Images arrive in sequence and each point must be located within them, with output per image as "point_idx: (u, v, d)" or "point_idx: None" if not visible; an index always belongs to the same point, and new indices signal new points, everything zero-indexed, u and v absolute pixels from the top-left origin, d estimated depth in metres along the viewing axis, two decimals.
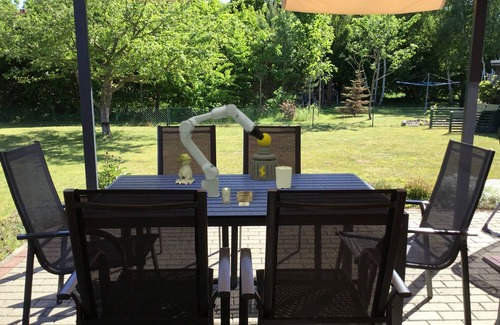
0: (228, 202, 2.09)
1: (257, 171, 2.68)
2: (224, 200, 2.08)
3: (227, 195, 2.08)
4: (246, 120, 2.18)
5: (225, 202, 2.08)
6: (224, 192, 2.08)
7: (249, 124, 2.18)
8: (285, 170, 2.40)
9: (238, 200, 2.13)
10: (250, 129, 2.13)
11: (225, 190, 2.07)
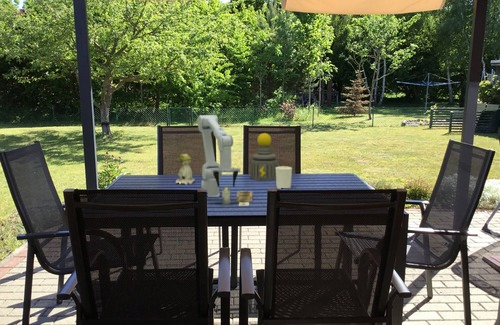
0: (228, 202, 2.09)
1: (257, 171, 2.68)
2: (224, 200, 2.08)
3: (227, 195, 2.08)
4: (220, 161, 2.06)
5: (225, 202, 2.08)
6: (224, 192, 2.08)
7: (220, 166, 2.06)
8: (285, 170, 2.40)
9: (238, 200, 2.13)
10: (211, 170, 2.08)
11: (225, 190, 2.07)
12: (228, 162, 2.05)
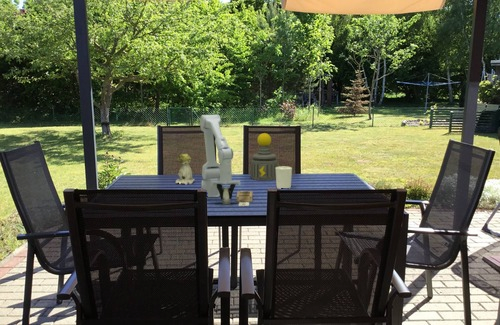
0: (228, 202, 2.09)
1: (257, 171, 2.68)
2: (224, 200, 2.08)
3: (227, 195, 2.08)
4: (220, 174, 2.07)
5: (225, 202, 2.08)
6: (224, 192, 2.08)
7: (220, 179, 2.07)
8: (285, 170, 2.40)
9: (238, 200, 2.13)
10: None
11: (225, 190, 2.07)
12: (228, 175, 2.06)
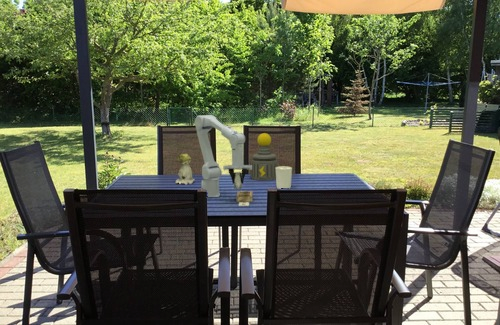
0: (240, 187, 2.11)
1: (257, 171, 2.68)
2: (236, 185, 2.11)
3: (239, 180, 2.11)
4: (232, 159, 2.10)
5: (237, 187, 2.11)
6: (236, 177, 2.11)
7: (232, 164, 2.10)
8: (285, 170, 2.40)
9: (238, 200, 2.13)
10: None
11: (237, 175, 2.10)
12: (240, 159, 2.09)
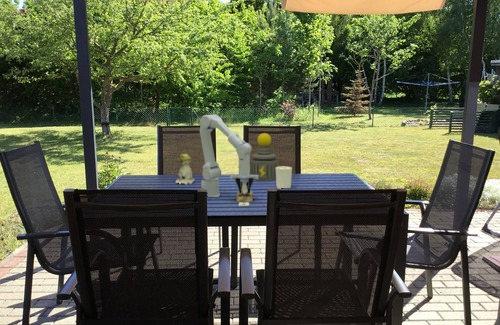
0: (246, 196, 2.15)
1: (257, 171, 2.68)
2: (242, 194, 2.14)
3: (245, 189, 2.14)
4: (239, 168, 2.13)
5: (243, 196, 2.14)
6: (242, 186, 2.14)
7: (239, 173, 2.14)
8: (285, 170, 2.40)
9: (238, 200, 2.13)
10: (230, 177, 2.15)
11: (243, 184, 2.13)
12: (247, 169, 2.12)
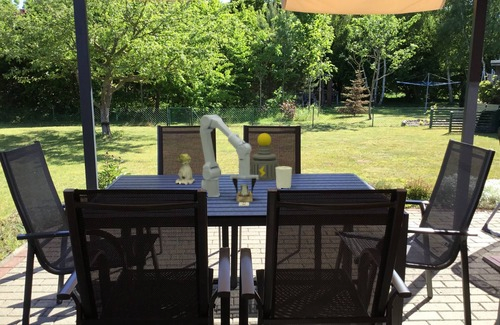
0: None
1: (257, 171, 2.68)
2: None
3: (245, 192, 2.14)
4: (239, 169, 2.13)
5: None
6: (242, 189, 2.14)
7: (239, 173, 2.14)
8: (285, 170, 2.40)
9: (238, 200, 2.13)
10: (230, 177, 2.15)
11: (243, 187, 2.14)
12: (247, 169, 2.12)
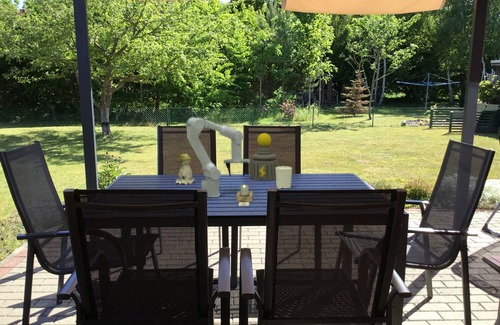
0: None
1: (257, 171, 2.68)
2: None
3: (245, 192, 2.14)
4: (232, 153, 2.30)
5: None
6: (242, 189, 2.14)
7: None
8: (285, 170, 2.40)
9: (238, 200, 2.13)
10: None
11: (243, 187, 2.14)
12: (239, 154, 2.30)
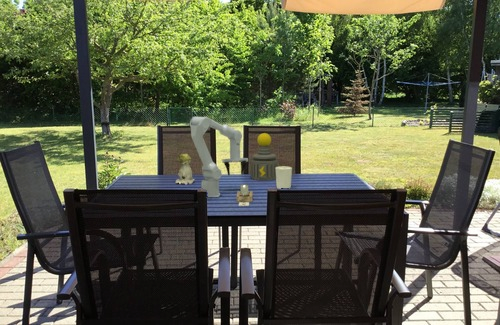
0: None
1: (257, 171, 2.68)
2: None
3: (245, 192, 2.14)
4: (231, 153, 2.34)
5: None
6: (242, 189, 2.14)
7: (230, 157, 2.34)
8: (285, 170, 2.40)
9: (238, 200, 2.13)
10: (222, 161, 2.35)
11: (243, 187, 2.14)
12: (238, 153, 2.34)
